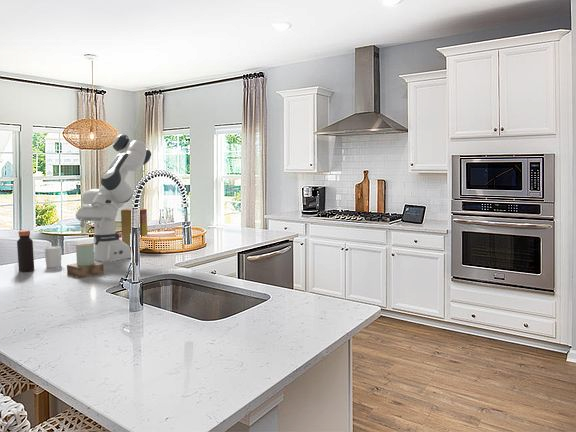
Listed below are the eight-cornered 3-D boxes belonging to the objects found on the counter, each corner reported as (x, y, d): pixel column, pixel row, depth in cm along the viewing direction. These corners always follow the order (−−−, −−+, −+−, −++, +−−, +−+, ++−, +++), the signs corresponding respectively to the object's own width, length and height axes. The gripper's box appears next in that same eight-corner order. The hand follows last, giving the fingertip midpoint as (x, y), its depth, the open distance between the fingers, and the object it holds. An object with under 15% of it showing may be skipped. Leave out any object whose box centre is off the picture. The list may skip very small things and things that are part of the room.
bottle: (27, 272, 230) (25, 231, 228) (15, 272, 231) (12, 231, 229) (37, 269, 237) (35, 230, 235) (25, 269, 238) (23, 229, 236)
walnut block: (91, 270, 235) (90, 261, 235) (104, 274, 228) (103, 263, 227) (67, 275, 226) (66, 264, 225) (79, 278, 218) (79, 268, 218)
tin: (83, 263, 229) (82, 242, 228) (94, 263, 229) (93, 242, 228) (76, 265, 224) (75, 244, 223) (88, 265, 223) (87, 244, 222)
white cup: (41, 267, 242) (40, 248, 241) (55, 264, 249) (54, 245, 248) (51, 268, 239) (50, 249, 238) (65, 265, 246) (64, 246, 245)
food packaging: (148, 247, 300) (147, 208, 297) (142, 250, 290) (141, 210, 288) (128, 247, 301) (126, 208, 298) (121, 250, 292) (120, 210, 289)
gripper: (80, 200, 239) (68, 221, 230) (116, 201, 234) (105, 222, 226) (85, 208, 243) (74, 229, 235) (121, 209, 239) (111, 231, 231)
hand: (89, 226), depth 230 cm, fingers open, 8 cm apart
